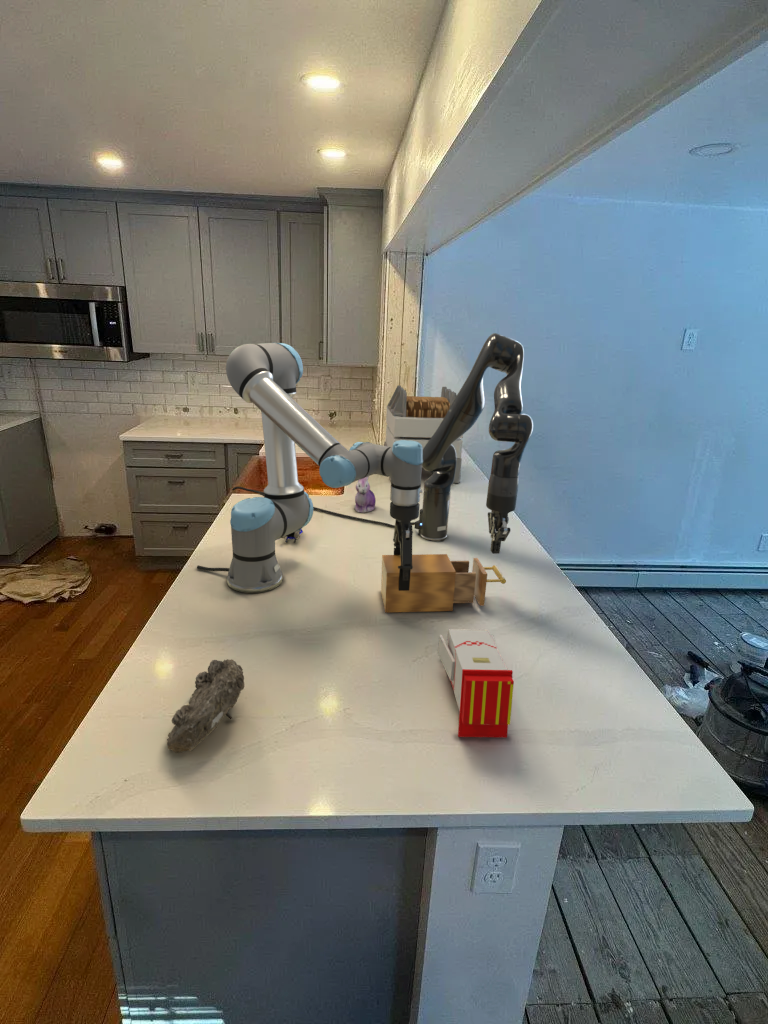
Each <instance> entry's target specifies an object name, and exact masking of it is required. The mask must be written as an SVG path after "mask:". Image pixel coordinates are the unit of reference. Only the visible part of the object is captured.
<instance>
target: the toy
mask: <svg viewBox="0 0 768 1024" xmlns="http://www.w3.org/2000/svg"><path fill="white" fill-rule="evenodd" d="M446 640H447V643H446V641H445V639H444V636H443V635H442V634H439V637H438V646H437V656H438V657H439V659H440V661H441V663H442V666H443V668H444V670H445V672H446V674H447V677H448V679H449V681H450V684H451V687H452V690H453V693H454V697H455V701H456V705H457V708H458V711H459V714H458V715H459V716H458V730H457V731H458V732H457V737H458V738H508V731H509V726H510V725H511V717H512V707H513V697H514V696H513V695H514V684H515V680H514V679H513V673H514V671H513V670H512V669H508V667H507V665H506V662H505V661H504V659H503V658H502V655H501V653H500V651H499V649H498V647H497V643H496V639H495V637H494V635H493V634H491V632H490V631H489V629H467V628H466V629H465V628H463V629H461V628H460V629H459V628H448V630H447V639H446Z"/></svg>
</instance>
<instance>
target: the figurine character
mask: <svg viewBox="0 0 768 1024" xmlns="http://www.w3.org/2000/svg"><path fill="white" fill-rule="evenodd" d="M303 532H304V531H303V528H302V529H300V530H299V531H296V532H293V533H291V534H288V535H286V536H284V537H282V538H281V539H284V542H285V543H288V541H289V540H293V543H294V544H296V543H297V539H298V540H299V538H300V536H301V534H302V533H303Z"/></svg>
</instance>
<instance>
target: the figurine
mask: <svg viewBox="0 0 768 1024" xmlns="http://www.w3.org/2000/svg"><path fill="white" fill-rule="evenodd" d="M369 478H370V476H368V477H365V478H363V479H360V480H357V481H356V485H355V490H356V494H355V497H354V502H355V503H354V504H355V505H354V510H355V512H357V513H367V512H368V513H369V512H372V511H374V510H375V507H376V496H375V493H374V492H373V490H371V485H370V482H369Z"/></svg>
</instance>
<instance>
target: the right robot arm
mask: <svg viewBox="0 0 768 1024" xmlns="http://www.w3.org/2000/svg"><path fill="white" fill-rule="evenodd" d="M524 359H525V350H524V346H523V344H522V343H521V342H519V341H517V340H516V339H513V338H511V337H509V336H508V337H507V336H505V335H502V334H500V333H497V332H494V333H491V334H490V335H489V336H488V337H487V338H486V340H485V341H484V343H483V345H482V347H481V348H480V351H479V353H478V355H477V357H476V360H475V361H474V363H473V365H472V368H471V370H470V372H469V373H468V376H467V378H466V380H465V381H464V383H463V384H462V386H461V388H460V390H459V391H458V392H457V393H456V395H457V396H456V397H455V399H454V401H453V403H452V404H451V406H450V408H449V410H448V412H447V414H446V415H445V417H444V419H443V420H442V422H441V424H440V425H439V427H438V429H437V430H436V432H435V433H434V435H433V436H432V437H431V439H430V440H429V441H428V443H427V444H426V445H425V447H424V448H423V464H422V470H424V471H426V472H428V473H429V472H430V473H432V474H431V475H430V476H429V477H427V478H426V479H425V480H424V482H423V492H422V496H423V497H422V506H421V508H420V509H419V517H418V519H417V520H416V521H410V522H411V525H412V526H414V529H415V530H417V535H418V536H420V538H421V539H424V540H426V541H432V542H440V541H444V540H446V539H447V538H448V525H449V517H450V516H449V514H450V504H451V494H452V493H451V491H452V486H453V484H454V483H453V482H454V476H455V469H456V461H457V455H456V450H455V448H454V446H453V445H452V443H453V442H454V441H455V440H457V439H458V438H459V437H460V436H462V435H463V436H464V434H466V433H467V432H468V431H469V430H470V429H471V428H472V427H473V426H474V425H475V424H476V422H477V421H478V419H479V417H480V416H481V414H482V413H483V411H484V408H485V402H486V401H485V390H484V377H485V373H486V371H487V369H488V368H491V369H493V370H496V371H498V372H501V373H505V374H506V375H505V376H504V377H503V378H501V379H500V380H499V381H498V382H497V384H496V386H495V388H494V391H493V402H494V403H493V404H494V405H493V406H494V410H493V414H492V416H491V418H490V421H489V425H488V435H489V436H490V438H491V439H492V440H493V441H495V442H501V443H502V442H505V443H513V445H511V447H509V448H504V449H503V448H502V449H498V450H496V451H494V452H493V453H492V458H491V468H490V475H489V479H488V485H487V494H486V500H485V501H486V503H485V507H486V508H487V509H488V510H490V511H489V512H487V520H488V521H487V522H488V532H489V534H490V540H491V542H490V548H489V549H490V552H491V554H494V555H496V554H497V555H499V554H500V553H501V546H502V542H505V541H506V539H508V536H509V535H510V533H511V527H508V524H509V522H510V518H509V513H511V512H514V511H515V510H516V507H517V500H518V492H519V483H520V480H519V479H520V478H519V477H520V469H521V462H522V458H523V455H524V453H525V450H526V447H527V445H528V442H529V441H530V438H531V436H532V434H533V431H534V421H533V418H532V417H531V415H529V414H526V413H522V412H523V407H524V405H523V404H524V403H523V397H522V388H521V386H522V377H523V371H524V370H523V369H524ZM235 490H243V491H246V492H249V493H250V492H251V493H255V494H259V495H263V496H264V491H260V490H256V489H250V488H248V487H244V486H243V487H242V486H235V487H233V488H232V489H231V491H235ZM313 510H314V511H318V512H322V513H325V514H330V515H333V516H337V517H342V518H346V519H350V520H355V521H361V522H366V523H371V524H376V525H381V526H386V527H389V528H393V529H395V524H391V523H388V522H383V521H379V520H378V521H377V520H372V519H367V518H362V517H357V516H351V515H348V514H344V513H339V512H335V511H330V510H326V509H323V508H319V507H316V506H313Z"/></svg>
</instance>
